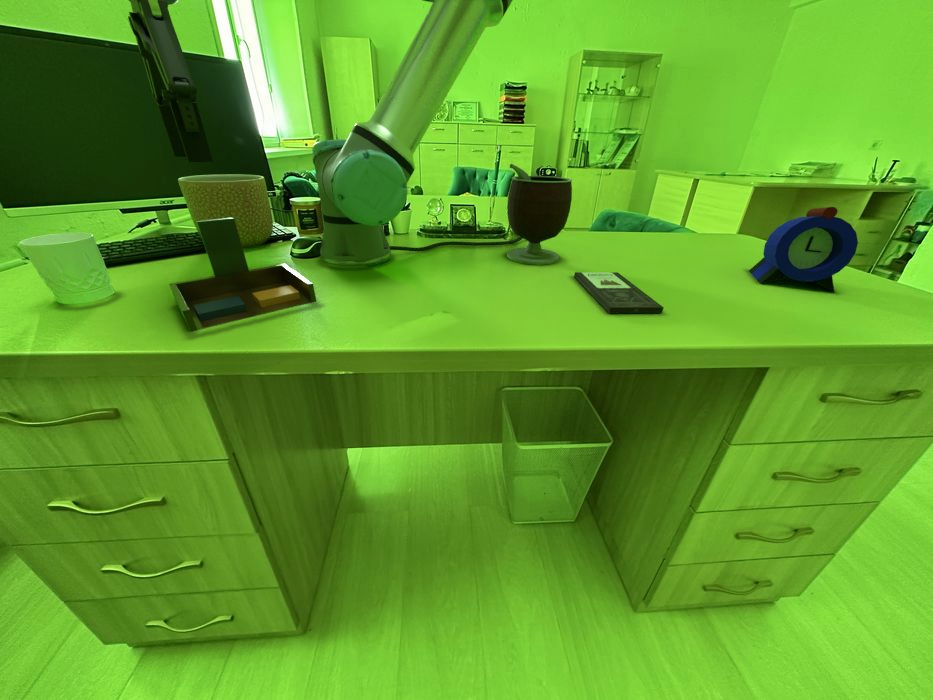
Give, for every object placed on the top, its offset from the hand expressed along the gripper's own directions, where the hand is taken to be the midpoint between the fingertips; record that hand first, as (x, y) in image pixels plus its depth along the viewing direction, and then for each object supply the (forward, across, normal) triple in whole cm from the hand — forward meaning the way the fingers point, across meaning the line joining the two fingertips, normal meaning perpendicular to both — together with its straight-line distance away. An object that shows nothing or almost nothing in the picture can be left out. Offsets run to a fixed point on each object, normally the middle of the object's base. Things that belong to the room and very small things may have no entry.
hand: (192, 159), depth 53 cm
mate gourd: (+21, +15, +60) cm, 65 cm away
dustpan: (+21, +7, +1) cm, 22 cm away
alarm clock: (+20, +58, +91) cm, 110 cm away
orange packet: (+20, +8, +5) cm, 22 cm away
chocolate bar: (+21, +40, +54) cm, 70 cm away
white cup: (+21, -11, -19) cm, 30 cm away
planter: (+21, -36, +9) cm, 42 cm away
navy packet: (+20, +9, -3) cm, 22 cm away
